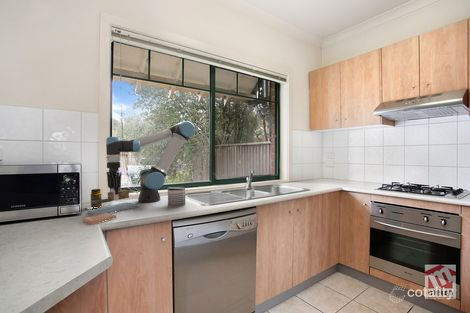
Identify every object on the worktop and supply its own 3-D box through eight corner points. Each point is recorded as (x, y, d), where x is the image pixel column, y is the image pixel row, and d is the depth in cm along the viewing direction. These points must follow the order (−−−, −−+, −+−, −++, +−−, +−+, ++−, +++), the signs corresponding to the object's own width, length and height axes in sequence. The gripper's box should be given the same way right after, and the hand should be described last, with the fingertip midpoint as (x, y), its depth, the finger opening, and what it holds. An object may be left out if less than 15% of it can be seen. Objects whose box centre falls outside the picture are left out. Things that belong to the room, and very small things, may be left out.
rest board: (126, 204, 155) (125, 202, 155) (137, 206, 147) (137, 204, 147) (87, 213, 135) (87, 210, 134) (98, 216, 127) (98, 213, 127)
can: (164, 205, 151) (164, 187, 150) (180, 202, 158) (179, 185, 158) (172, 208, 142) (172, 189, 142) (188, 205, 150) (188, 187, 149)
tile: (106, 212, 128) (83, 218, 118) (116, 215, 122) (92, 221, 112) (106, 216, 128) (83, 222, 118) (116, 219, 122) (92, 225, 112)
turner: (125, 197, 150) (124, 189, 150) (130, 198, 147) (130, 190, 147) (90, 202, 133) (90, 194, 133) (95, 204, 130) (95, 195, 130)
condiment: (104, 206, 150) (104, 188, 150) (92, 209, 142) (91, 190, 142) (97, 205, 153) (96, 188, 153) (84, 208, 145) (84, 190, 145)
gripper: (100, 161, 142) (101, 199, 143) (114, 162, 134) (115, 201, 134) (112, 161, 149) (113, 196, 149) (126, 161, 140) (127, 199, 140)
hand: (114, 199), depth 142 cm, fingers closed on turner, 3 cm apart
